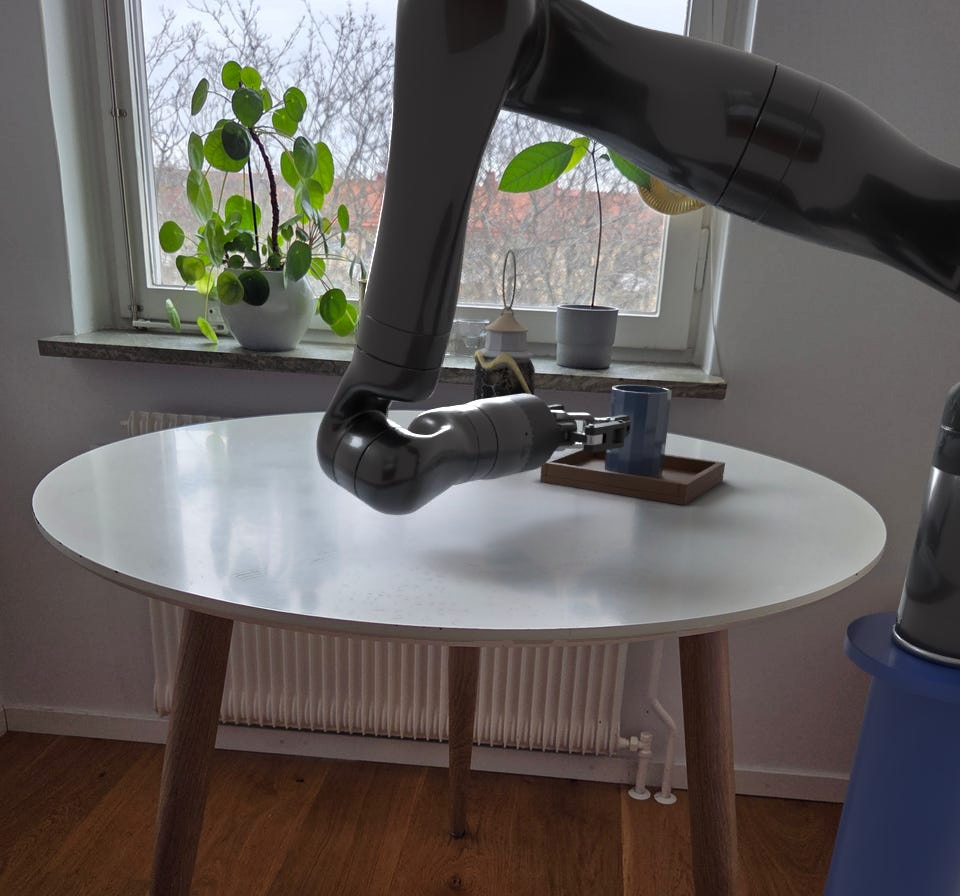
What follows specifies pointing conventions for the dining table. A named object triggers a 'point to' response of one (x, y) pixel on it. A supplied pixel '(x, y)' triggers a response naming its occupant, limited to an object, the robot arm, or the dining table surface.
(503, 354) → the lantern
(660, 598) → the dining table surface
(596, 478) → the tray
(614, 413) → the cup
